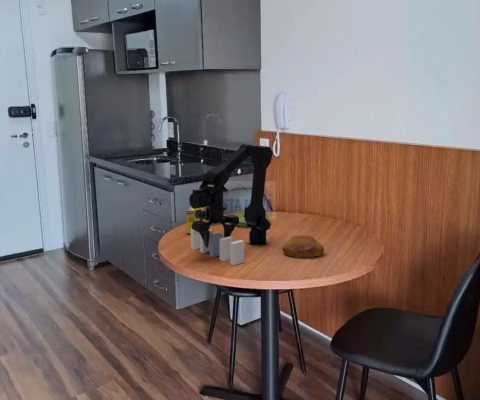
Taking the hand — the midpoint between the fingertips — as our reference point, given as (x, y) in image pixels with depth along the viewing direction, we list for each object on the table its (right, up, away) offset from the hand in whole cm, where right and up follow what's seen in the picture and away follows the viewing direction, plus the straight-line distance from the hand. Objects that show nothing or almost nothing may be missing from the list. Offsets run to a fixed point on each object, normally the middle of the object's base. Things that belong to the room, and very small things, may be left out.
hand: (216, 244), depth 183 cm
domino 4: (+4, -5, -4) cm, 7 cm away
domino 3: (0, -4, +1) cm, 4 cm away
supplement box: (-11, +2, +29) cm, 31 cm away
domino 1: (-8, -2, +10) cm, 13 cm away
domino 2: (-4, -3, +5) cm, 7 cm away
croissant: (+33, -4, +3) cm, 34 cm away
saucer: (+13, +6, +48) cm, 50 cm away
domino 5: (+8, -6, -8) cm, 13 cm away
